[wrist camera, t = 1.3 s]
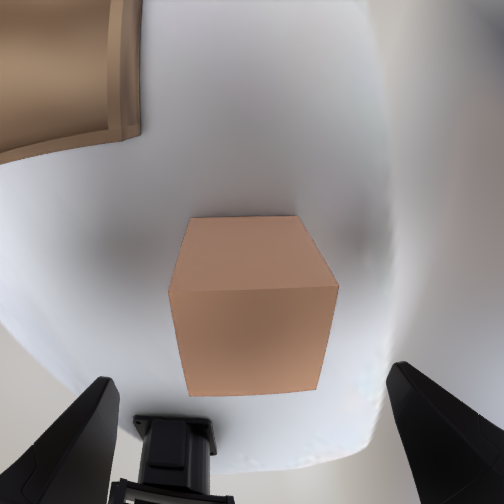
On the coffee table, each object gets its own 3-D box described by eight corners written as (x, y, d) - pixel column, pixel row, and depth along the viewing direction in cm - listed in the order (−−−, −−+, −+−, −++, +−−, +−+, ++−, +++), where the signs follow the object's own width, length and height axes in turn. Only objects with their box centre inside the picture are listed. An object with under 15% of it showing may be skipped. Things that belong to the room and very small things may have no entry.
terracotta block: (290, 303, 16) (316, 389, 11) (198, 306, 16) (189, 396, 11) (297, 215, 14) (339, 285, 9) (190, 218, 14) (167, 291, 8)
